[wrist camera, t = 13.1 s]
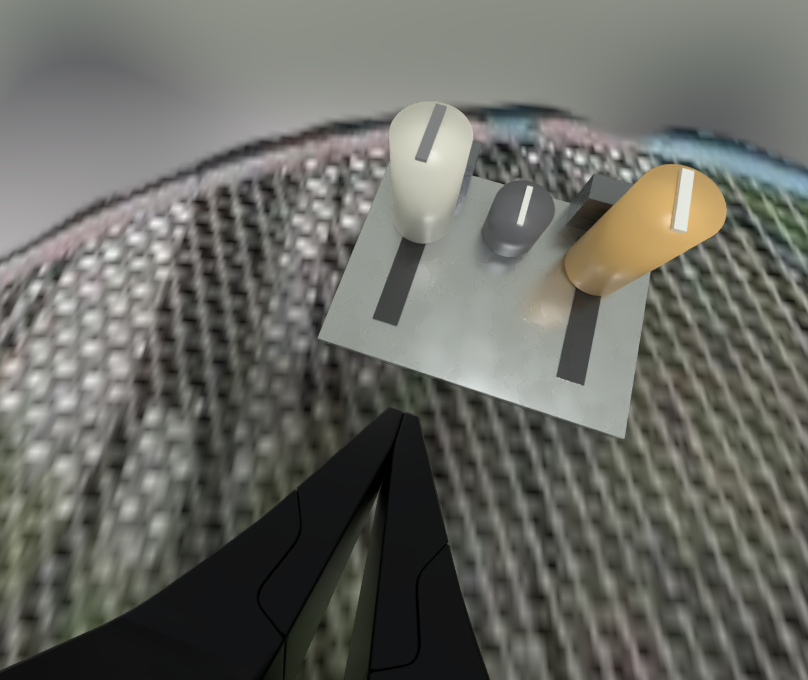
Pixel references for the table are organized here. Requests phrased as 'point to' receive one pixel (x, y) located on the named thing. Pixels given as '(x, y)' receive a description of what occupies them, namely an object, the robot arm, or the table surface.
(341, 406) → the table surface
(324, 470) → the robot arm
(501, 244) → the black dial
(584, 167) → the table surface
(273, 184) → the table surface
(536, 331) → the console plate
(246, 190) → the table surface
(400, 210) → the cream knob
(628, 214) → the orange knob
